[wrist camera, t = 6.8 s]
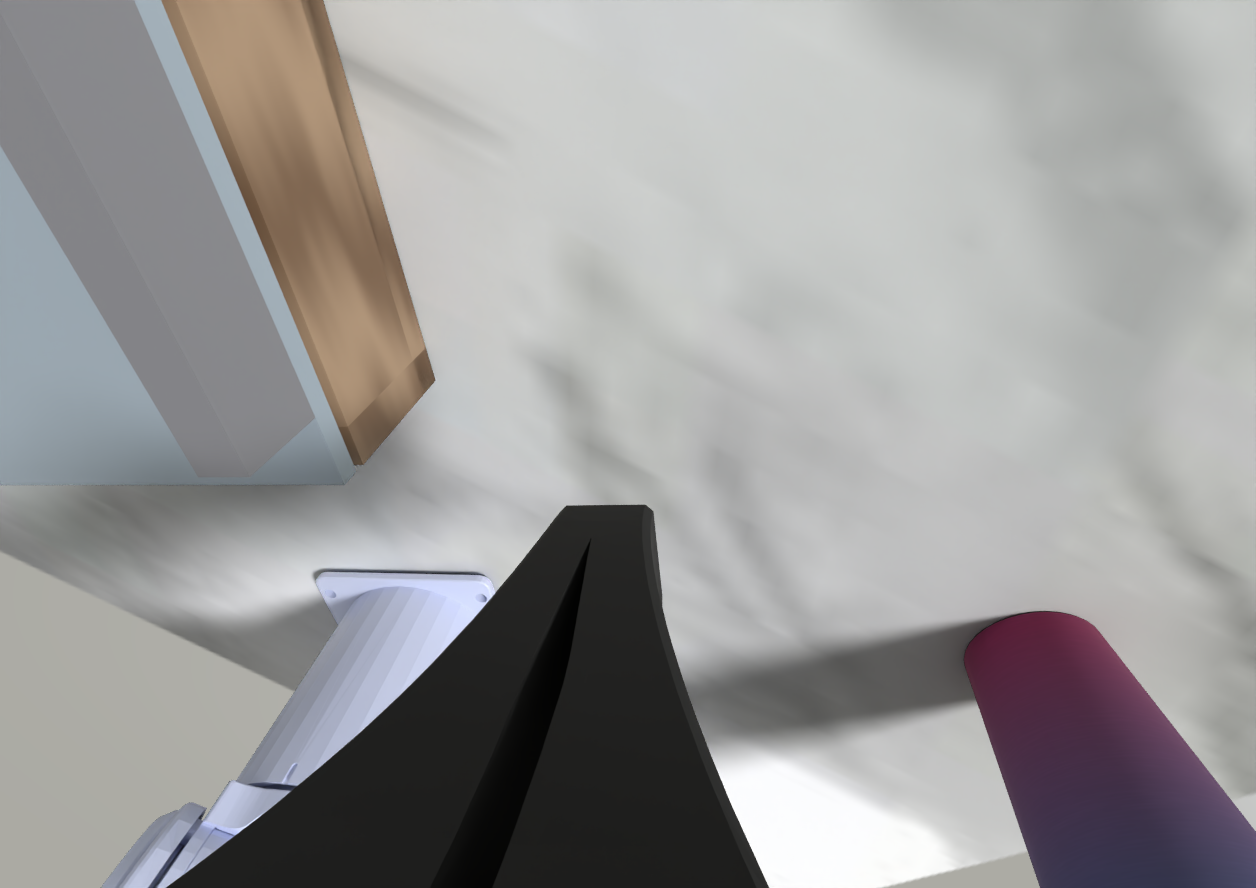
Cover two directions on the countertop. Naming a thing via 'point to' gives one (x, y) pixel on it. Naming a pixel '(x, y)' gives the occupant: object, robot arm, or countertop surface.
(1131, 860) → the cup
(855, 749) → the countertop surface
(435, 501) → the countertop surface
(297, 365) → the lid
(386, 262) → the walnut box
